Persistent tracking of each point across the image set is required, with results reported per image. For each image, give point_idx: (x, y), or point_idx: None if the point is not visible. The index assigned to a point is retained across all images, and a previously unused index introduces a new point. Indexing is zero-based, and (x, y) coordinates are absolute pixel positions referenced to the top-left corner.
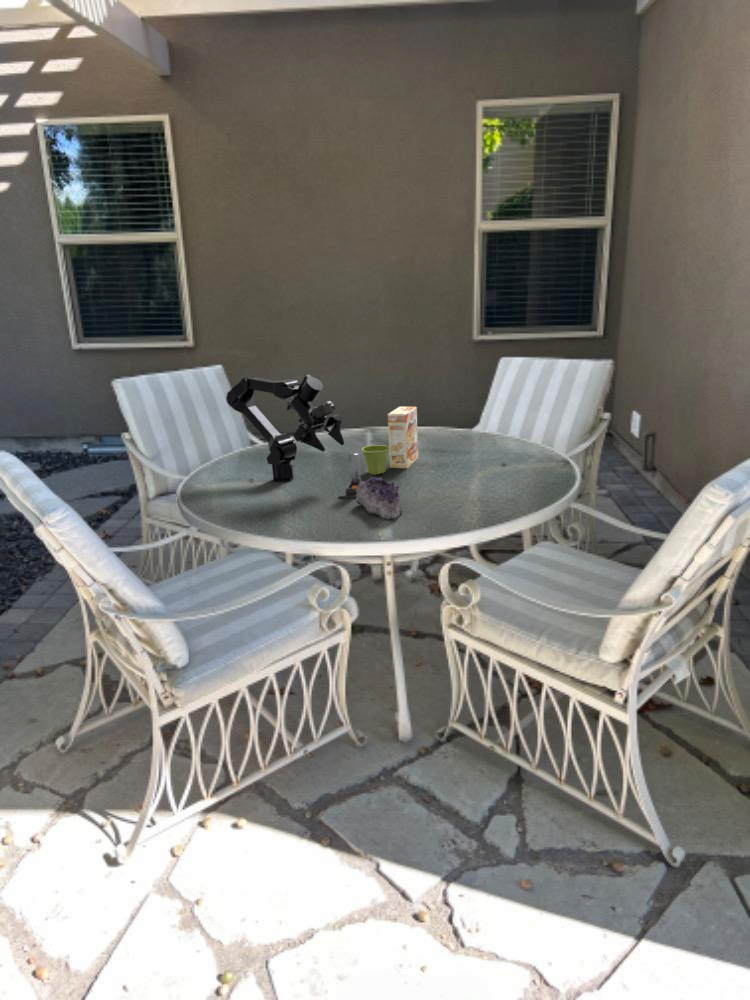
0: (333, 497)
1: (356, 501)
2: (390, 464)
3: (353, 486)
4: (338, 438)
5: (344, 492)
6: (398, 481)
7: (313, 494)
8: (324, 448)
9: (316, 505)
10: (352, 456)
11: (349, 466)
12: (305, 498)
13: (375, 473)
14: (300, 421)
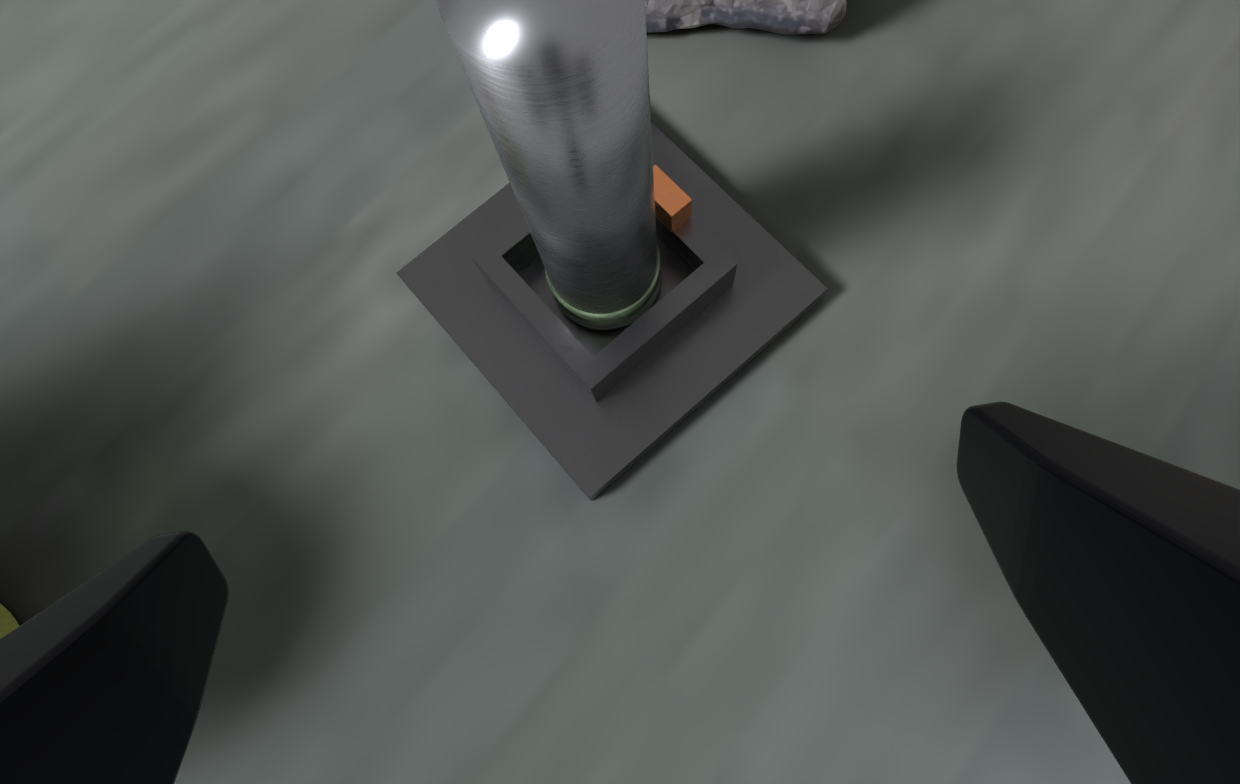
0: (833, 364)
1: (844, 13)
2: None
3: (681, 194)
4: (70, 774)
5: (712, 331)
6: (120, 272)
7: (922, 614)
8: (994, 411)
9: (1096, 299)
10: None
11: (642, 152)
12: None
13: (11, 627)
14: None
